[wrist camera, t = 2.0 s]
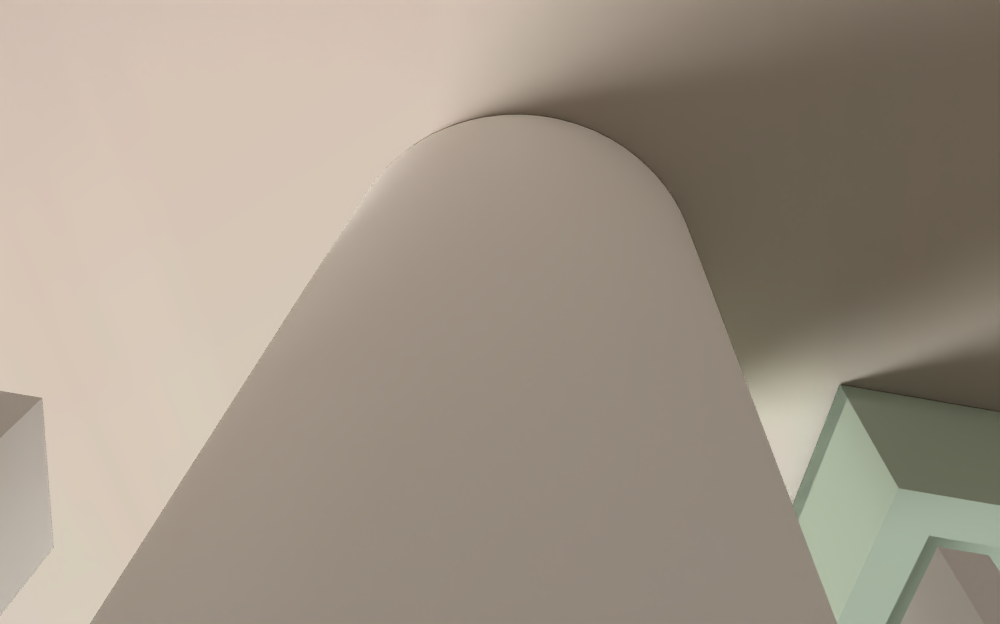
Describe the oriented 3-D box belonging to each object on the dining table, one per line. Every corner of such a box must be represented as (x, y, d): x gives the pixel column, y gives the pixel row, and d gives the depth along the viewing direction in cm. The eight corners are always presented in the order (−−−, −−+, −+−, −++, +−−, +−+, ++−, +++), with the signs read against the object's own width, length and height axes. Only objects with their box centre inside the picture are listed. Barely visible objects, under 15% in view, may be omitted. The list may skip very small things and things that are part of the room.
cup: (630, 54, 18) (932, 762, 3) (738, 380, 21) (1133, 1464, 6) (280, 192, 19) (-503, 1038, 5) (429, 474, 23) (203, 1484, 8)
